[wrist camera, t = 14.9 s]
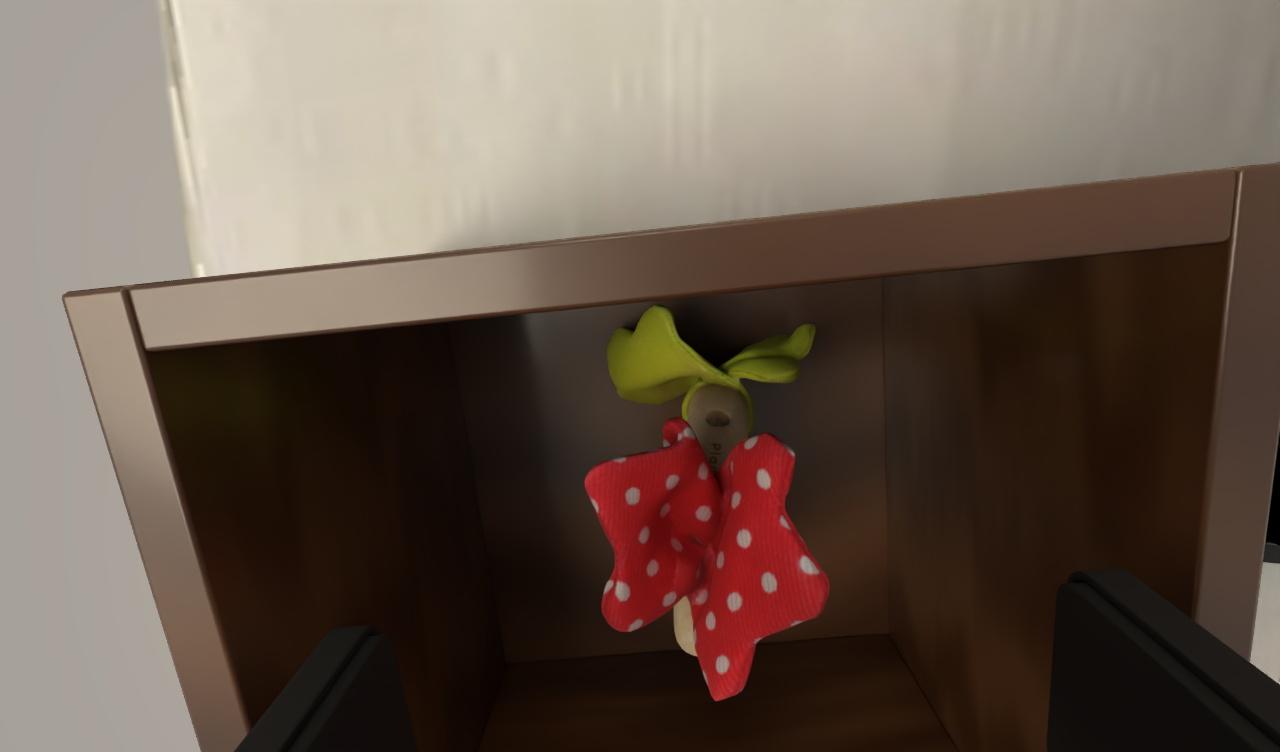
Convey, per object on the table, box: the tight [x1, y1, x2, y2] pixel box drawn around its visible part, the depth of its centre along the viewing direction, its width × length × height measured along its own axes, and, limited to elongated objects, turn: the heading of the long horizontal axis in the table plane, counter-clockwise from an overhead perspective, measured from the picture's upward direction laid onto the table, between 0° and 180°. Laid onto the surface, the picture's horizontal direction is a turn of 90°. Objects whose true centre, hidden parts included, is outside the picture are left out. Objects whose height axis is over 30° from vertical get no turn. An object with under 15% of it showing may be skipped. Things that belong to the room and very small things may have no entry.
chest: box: [62, 162, 1280, 752], centre depth 16 cm, size 16×16×13 cm
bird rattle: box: [584, 304, 830, 701], centre depth 16 cm, size 6×11×9 cm
